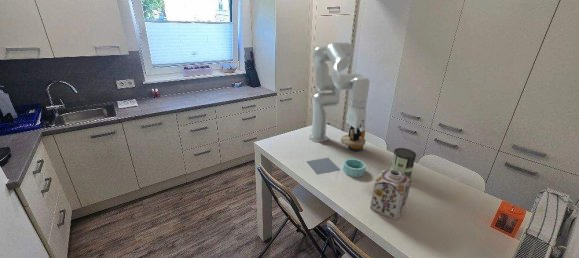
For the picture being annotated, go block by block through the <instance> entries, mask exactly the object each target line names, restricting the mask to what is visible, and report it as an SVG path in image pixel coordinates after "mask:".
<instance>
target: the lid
mask: <svg viewBox="0 0 579 258" xmlns="http://www.w3.org/2000/svg"><path fill="white" fill-rule="evenodd" d="M354 133H355V129H351V132H350V137H348V136H349V134H344V135H343V136H341V139H340V142H341V143H342V144H344V145H345V146H347V147H348V146H353V147H360V146H363V147H364V146H365V145H366V139H365V137H364V138H362V137H359V140H356V141H354V140H353V136H354Z"/></svg>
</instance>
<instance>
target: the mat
mask: <svg viewBox="0 0 579 258" xmlns="http://www.w3.org/2000/svg"><path fill="white" fill-rule="evenodd" d="M306 163H307V164H308V165H309V167H310V168H311V169H312V170H313V171H314V173H315V174H316V175H323V174H328V173H332V172H337V171H338V172H339V171H341V168H339V166H337V164H336V163H334V162H333V161H332V160H331V159H330V157H324V158H318V159H312V160H306Z"/></svg>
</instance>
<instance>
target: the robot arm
mask: <svg viewBox="0 0 579 258" xmlns="http://www.w3.org/2000/svg"><path fill="white" fill-rule="evenodd" d="M353 53H354V47H353V46H352V44H351V43H349V42H332V43H329V44H328V45H327V46H323V45H321V46H318V47H315V48H314V50H313V52H312V61H313V64H314V89H316V90H317V91H322V92H318V93H315V94H313V96H312V125H311V129H310V130H311V133H310V134H309V136H308V137H309V139H310V140H311V141H313V142H317V143H321V142H322V143H323V142H327V140H328V139H329V137H328V135H327V125H328V112H327V111H326V109H325V108H333V107H334V108H335V107H338V106H339V104H340V99H341V98H340V97H341V96H340V95H341V91H347V90H351V94H350V101H349V105H348V108H347V113H346V118H345V122H346V124H348V135H349V136H348V137H350V132H351V129H355V133H354V136H353V140H354V141H356V140H359V137H360V133H361V132H362V131H364V126H365V127H366V122H367V121H366V120H367V119H366V118H367V104H368V96H369V90H370V82H371V80H370V78H369V77H366V76H363V75H362V74H361V73H341V72H343V71H344V70H346V69H347V68H348V67H349V65H350V63H351V60H350V58H351V57H353ZM327 62H331V64H332V65H333V66H332V67H331V72H330V69H329V66H328V63H327ZM329 72H330V73H331V74H330V73H329ZM324 91H330V92H324ZM357 129H359V130H357Z"/></svg>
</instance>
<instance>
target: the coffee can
mask: <svg viewBox="0 0 579 258" xmlns="http://www.w3.org/2000/svg"><path fill="white" fill-rule="evenodd" d="M416 157H417V153H416V152H415V151H413V150H412V149H409V148H404V147H398V148H395V149H394V150H393V156H392V162H391V166H390V170H398V171H399V172H402V173H404V174H405V175H406V176H407V177H408V178H409V179H410V180H411V177H412V173H413V169H414V165H415V162H416V161H415V160H416Z"/></svg>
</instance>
